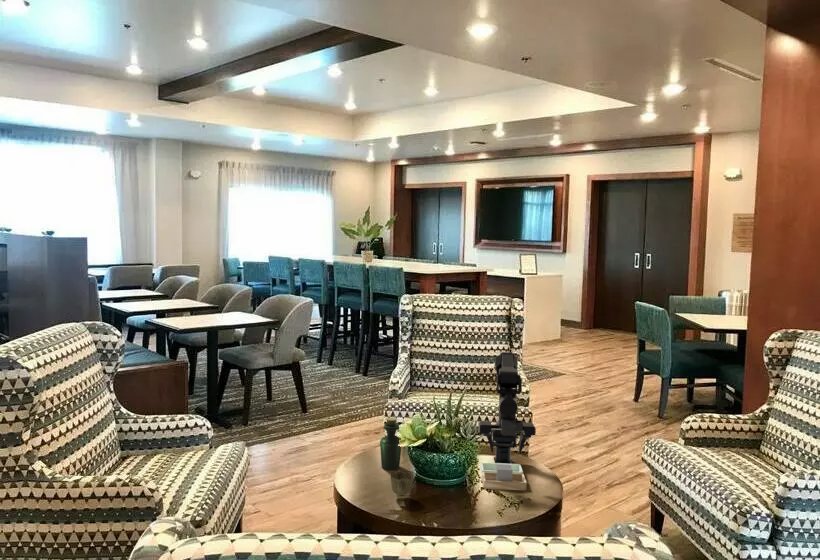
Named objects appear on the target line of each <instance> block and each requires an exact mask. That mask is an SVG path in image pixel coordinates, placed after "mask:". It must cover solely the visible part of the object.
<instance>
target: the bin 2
mask: <svg viewBox="0 0 820 560" xmlns="http://www.w3.org/2000/svg"><path fill="white" fill-rule="evenodd" d="M481 481H482V488H483V489H489V490H490V489H491V490H510V491H512V490H514V491H527V486H528V485H527V484H528V483H527V479H526V477H525V474H524V473H523V474H518V473H512V482H511V481H496V473H495V472H482V475H481Z"/></svg>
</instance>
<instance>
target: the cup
mask: <svg viewBox="0 0 820 560" xmlns="http://www.w3.org/2000/svg"><path fill="white" fill-rule="evenodd" d="M389 475H390V484H391V491H392V492H393V493H394V494H395V498H396V499H397V500H400V501H403V500H406V499H408V494H410V492H412V491H411V490H412V488H413V483H414V474H413V473H412V472H411V471H409V470H408V471H406V470H404V471H402V470H398V471H396V470H394V473H393V472H391V473H390V474H389Z"/></svg>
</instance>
